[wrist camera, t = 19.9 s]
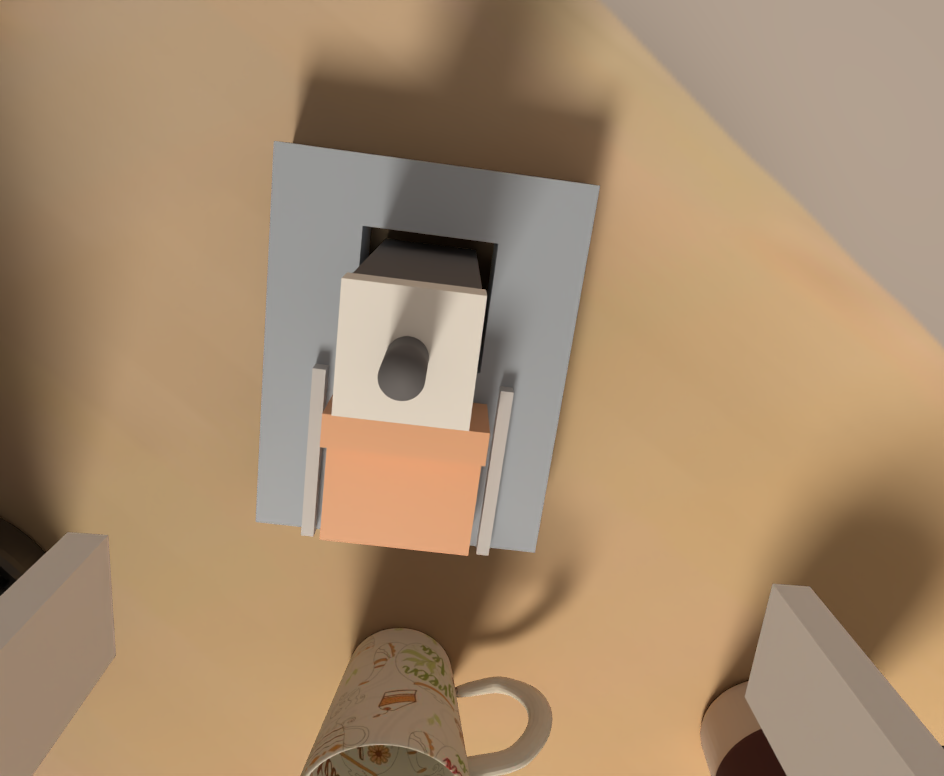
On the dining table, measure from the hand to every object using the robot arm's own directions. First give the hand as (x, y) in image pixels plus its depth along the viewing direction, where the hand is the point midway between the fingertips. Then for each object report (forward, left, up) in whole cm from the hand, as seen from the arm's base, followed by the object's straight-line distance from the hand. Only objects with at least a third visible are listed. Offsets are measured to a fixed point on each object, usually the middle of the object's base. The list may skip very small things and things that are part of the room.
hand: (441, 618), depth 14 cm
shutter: (-2, -5, -20) cm, 21 cm away
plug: (-2, +2, -24) cm, 24 cm away
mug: (+1, -20, -24) cm, 31 cm away
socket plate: (-2, -1, -24) cm, 24 cm away
